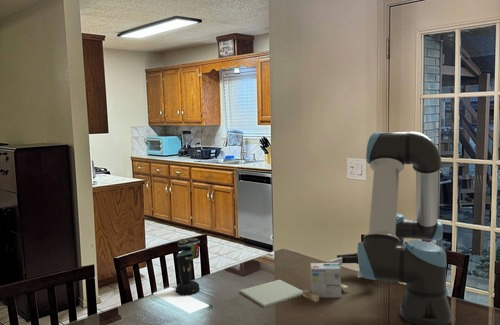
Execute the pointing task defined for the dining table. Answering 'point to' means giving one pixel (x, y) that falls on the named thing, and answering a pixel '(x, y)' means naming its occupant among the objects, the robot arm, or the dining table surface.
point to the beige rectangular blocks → (316, 297)
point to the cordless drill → (187, 266)
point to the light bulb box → (326, 279)
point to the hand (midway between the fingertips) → (343, 269)
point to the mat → (272, 292)
